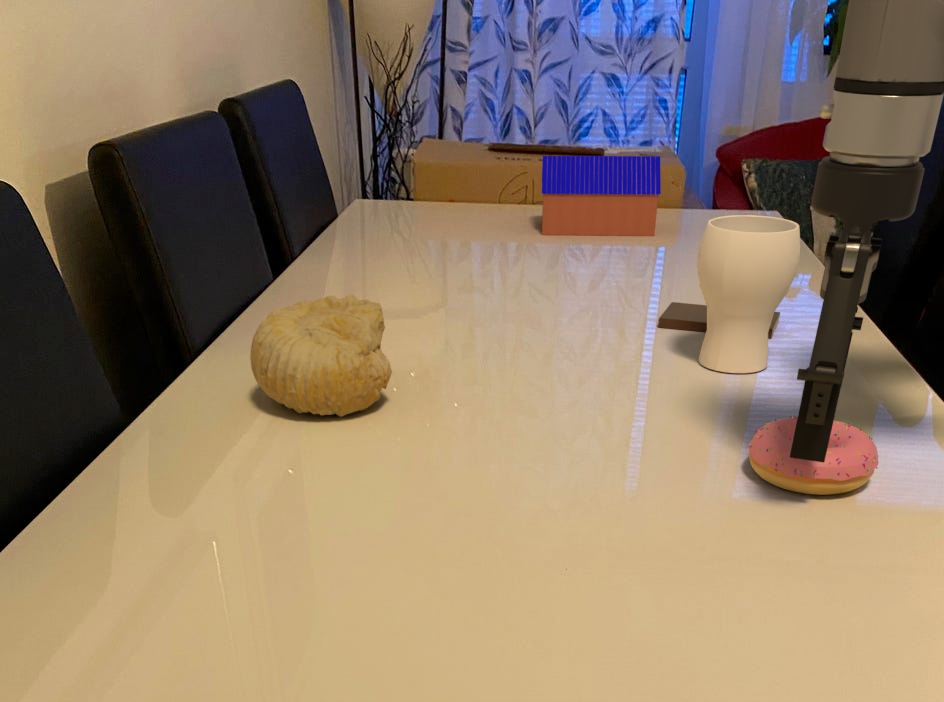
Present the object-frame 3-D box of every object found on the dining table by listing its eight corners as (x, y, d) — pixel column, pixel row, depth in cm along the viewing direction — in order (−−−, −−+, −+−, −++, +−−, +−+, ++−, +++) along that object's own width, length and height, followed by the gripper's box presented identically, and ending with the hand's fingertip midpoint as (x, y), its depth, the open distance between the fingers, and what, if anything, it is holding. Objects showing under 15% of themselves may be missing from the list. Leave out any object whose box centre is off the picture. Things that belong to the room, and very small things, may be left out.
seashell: (237, 434, 103) (351, 429, 95) (203, 329, 98) (321, 314, 90) (331, 385, 115) (439, 377, 107) (306, 290, 110) (417, 273, 102)
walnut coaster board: (778, 321, 127) (780, 312, 126) (771, 339, 121) (772, 329, 120) (670, 311, 131) (671, 301, 131) (657, 327, 125) (658, 317, 124)
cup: (800, 366, 112) (826, 226, 104) (735, 385, 107) (757, 238, 99) (730, 343, 119) (749, 210, 111) (666, 359, 114) (681, 221, 106)
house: (540, 221, 181) (542, 150, 175) (650, 222, 180) (656, 151, 173) (540, 235, 171) (542, 161, 165) (656, 236, 170) (663, 161, 163)
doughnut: (866, 456, 91) (876, 413, 89) (880, 508, 82) (892, 461, 80) (744, 446, 93) (751, 403, 91) (745, 495, 84) (752, 449, 82)
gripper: (832, 134, 84) (785, 378, 96) (804, 179, 65) (750, 478, 76) (927, 139, 82) (867, 388, 94) (926, 187, 62) (851, 493, 74)
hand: (814, 429), depth 85 cm, fingers open, 13 cm apart
